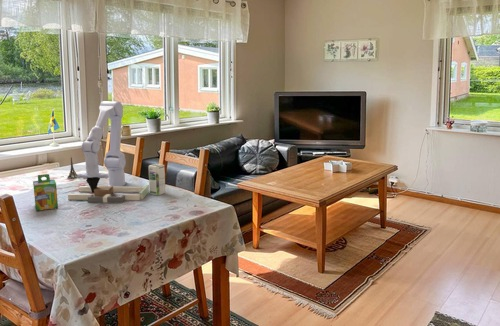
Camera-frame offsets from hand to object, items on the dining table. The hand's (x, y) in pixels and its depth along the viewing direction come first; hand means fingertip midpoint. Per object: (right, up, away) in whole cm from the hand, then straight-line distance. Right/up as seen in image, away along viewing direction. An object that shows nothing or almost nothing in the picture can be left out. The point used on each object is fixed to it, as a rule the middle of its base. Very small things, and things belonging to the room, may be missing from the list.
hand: (94, 192), depth 215 cm
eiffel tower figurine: (-23, +5, +34) cm, 41 cm away
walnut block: (+5, -2, 0) cm, 5 cm away
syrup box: (+30, -1, +4) cm, 30 cm away
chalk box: (-15, -6, -17) cm, 24 cm away
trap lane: (+7, -2, -2) cm, 8 cm away
